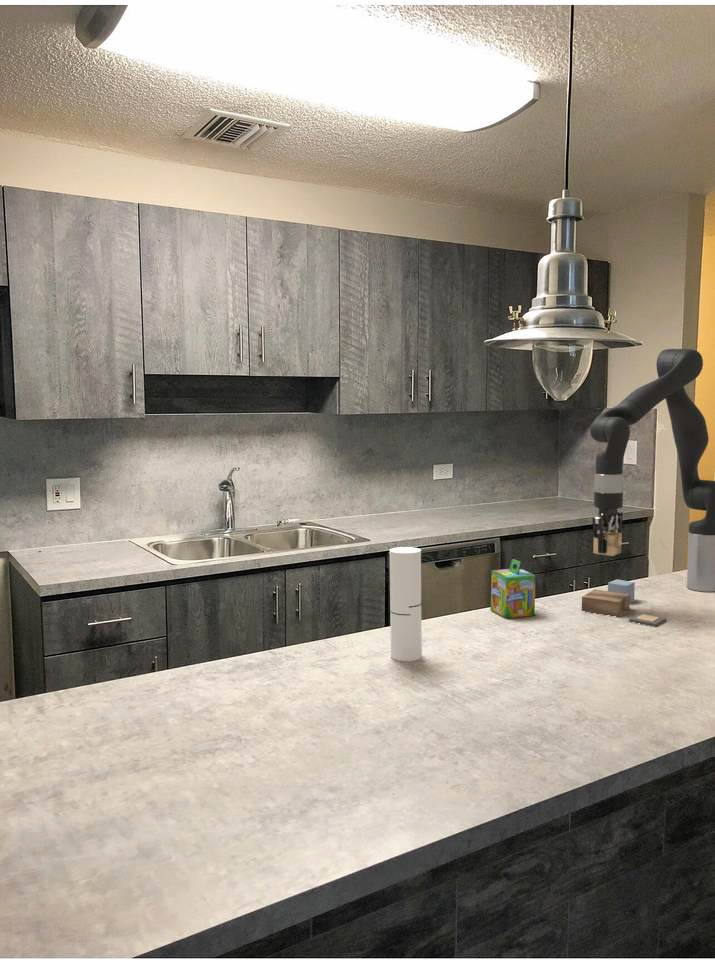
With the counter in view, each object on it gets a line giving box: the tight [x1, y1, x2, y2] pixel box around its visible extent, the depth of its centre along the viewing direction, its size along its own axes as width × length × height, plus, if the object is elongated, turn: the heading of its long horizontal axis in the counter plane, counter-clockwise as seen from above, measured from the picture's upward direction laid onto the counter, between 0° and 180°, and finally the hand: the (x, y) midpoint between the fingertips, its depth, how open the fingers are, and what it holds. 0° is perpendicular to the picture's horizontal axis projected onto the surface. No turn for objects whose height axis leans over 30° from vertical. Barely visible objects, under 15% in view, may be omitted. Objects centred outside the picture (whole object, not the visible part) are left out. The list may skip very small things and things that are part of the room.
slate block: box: [607, 579, 636, 603], centre depth 221 cm, size 6×6×6 cm
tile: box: [628, 612, 667, 628], centre depth 201 cm, size 7×7×1 cm
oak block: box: [592, 532, 623, 557], centre depth 210 cm, size 6×6×6 cm
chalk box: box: [490, 558, 537, 620], centre depth 210 cm, size 9×9×15 cm
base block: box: [581, 588, 631, 618], centre depth 212 cm, size 10×10×4 cm
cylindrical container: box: [389, 546, 423, 662], centre depth 176 cm, size 7×7×25 cm
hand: (607, 551), depth 210 cm, fingers closed on oak block, 5 cm apart
